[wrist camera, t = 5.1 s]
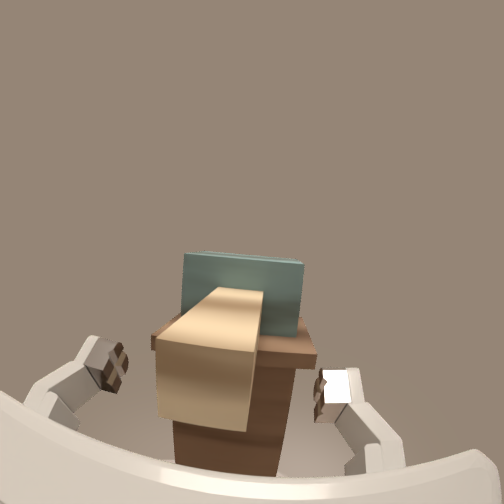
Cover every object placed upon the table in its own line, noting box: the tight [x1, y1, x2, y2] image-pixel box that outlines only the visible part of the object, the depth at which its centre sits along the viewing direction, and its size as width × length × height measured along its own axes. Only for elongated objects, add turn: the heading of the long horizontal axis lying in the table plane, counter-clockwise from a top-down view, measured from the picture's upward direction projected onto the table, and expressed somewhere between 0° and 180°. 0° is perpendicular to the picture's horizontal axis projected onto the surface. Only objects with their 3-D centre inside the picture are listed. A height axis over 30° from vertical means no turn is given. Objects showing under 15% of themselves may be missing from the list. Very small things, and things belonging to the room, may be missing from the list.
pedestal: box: [151, 313, 317, 477], centre depth 21 cm, size 9×10×26 cm
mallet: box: [155, 251, 304, 432], centre depth 17 cm, size 17×8×5 cm, turn 176°
